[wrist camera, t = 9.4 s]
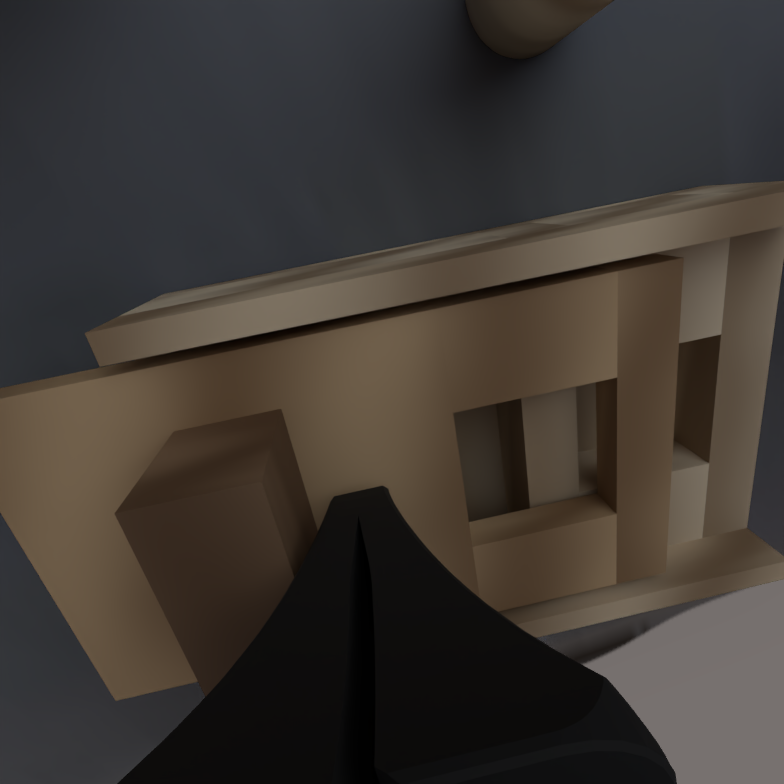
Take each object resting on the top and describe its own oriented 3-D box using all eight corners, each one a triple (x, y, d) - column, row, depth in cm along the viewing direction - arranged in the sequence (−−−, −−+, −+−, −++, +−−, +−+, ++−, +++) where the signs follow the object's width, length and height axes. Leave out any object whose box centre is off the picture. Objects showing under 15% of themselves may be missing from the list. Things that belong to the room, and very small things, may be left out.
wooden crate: (702, 185, 14) (860, 175, 10) (681, 493, 18) (785, 578, 14) (163, 294, 13) (84, 333, 9) (271, 586, 17) (250, 705, 13)
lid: (654, 253, 11) (814, 275, 7) (645, 549, 14) (750, 665, 11) (-27, 393, 10) (-225, 494, 7) (130, 667, 14) (55, 835, 10)
